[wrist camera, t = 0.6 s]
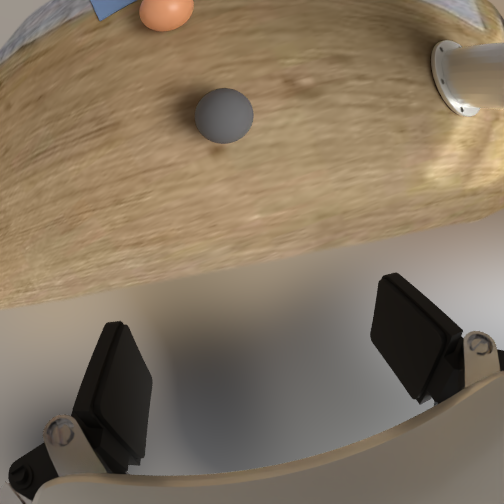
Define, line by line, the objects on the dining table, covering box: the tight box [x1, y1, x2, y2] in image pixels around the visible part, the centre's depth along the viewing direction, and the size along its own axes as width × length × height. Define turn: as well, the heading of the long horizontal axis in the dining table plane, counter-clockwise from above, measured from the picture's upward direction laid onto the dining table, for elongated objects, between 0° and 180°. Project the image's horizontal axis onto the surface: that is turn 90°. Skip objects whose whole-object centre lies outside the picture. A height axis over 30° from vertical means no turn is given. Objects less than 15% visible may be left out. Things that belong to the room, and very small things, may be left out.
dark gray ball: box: [195, 88, 253, 144], centre depth 24 cm, size 6×6×6 cm
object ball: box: [139, 0, 194, 31], centre depth 18 cm, size 6×6×6 cm
